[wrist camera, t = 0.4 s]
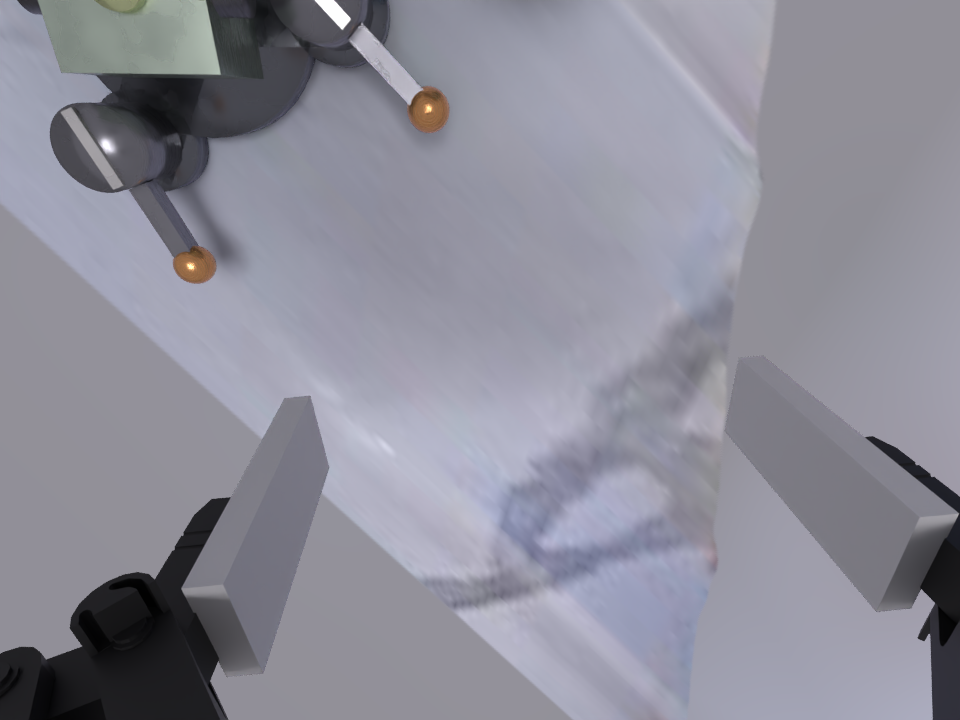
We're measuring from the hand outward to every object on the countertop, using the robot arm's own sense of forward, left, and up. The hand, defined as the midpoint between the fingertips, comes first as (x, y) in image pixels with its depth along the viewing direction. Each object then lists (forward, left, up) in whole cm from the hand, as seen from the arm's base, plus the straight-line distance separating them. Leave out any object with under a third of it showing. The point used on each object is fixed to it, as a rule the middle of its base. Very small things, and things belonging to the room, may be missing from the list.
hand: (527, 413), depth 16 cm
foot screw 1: (-3, -21, -25) cm, 33 cm away
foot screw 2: (-11, -7, -25) cm, 28 cm away
